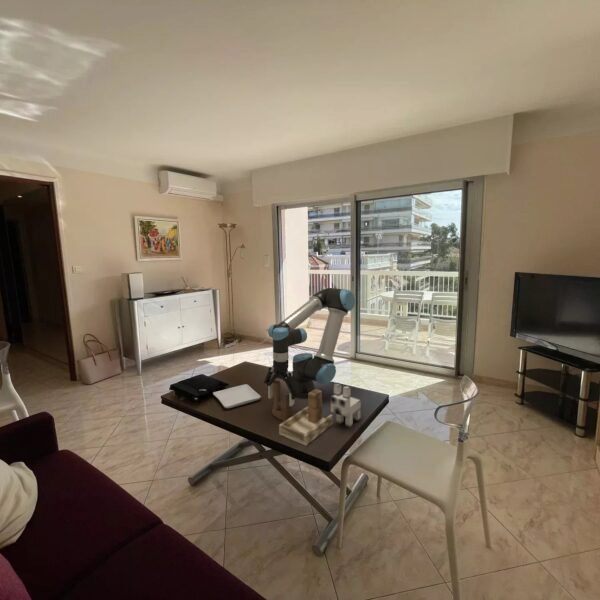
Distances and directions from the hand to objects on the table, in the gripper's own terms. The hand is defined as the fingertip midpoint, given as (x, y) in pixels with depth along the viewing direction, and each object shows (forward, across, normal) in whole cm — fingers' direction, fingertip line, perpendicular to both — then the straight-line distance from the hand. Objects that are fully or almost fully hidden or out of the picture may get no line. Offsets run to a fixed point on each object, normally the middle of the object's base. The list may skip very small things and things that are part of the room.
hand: (281, 401), depth 157 cm
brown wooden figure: (+9, 0, 0) cm, 9 cm away
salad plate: (+9, -34, +2) cm, 35 cm away
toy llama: (+9, +28, +16) cm, 34 cm away
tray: (+9, +16, -1) cm, 18 cm away
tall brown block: (+7, +16, +6) cm, 19 cm away
